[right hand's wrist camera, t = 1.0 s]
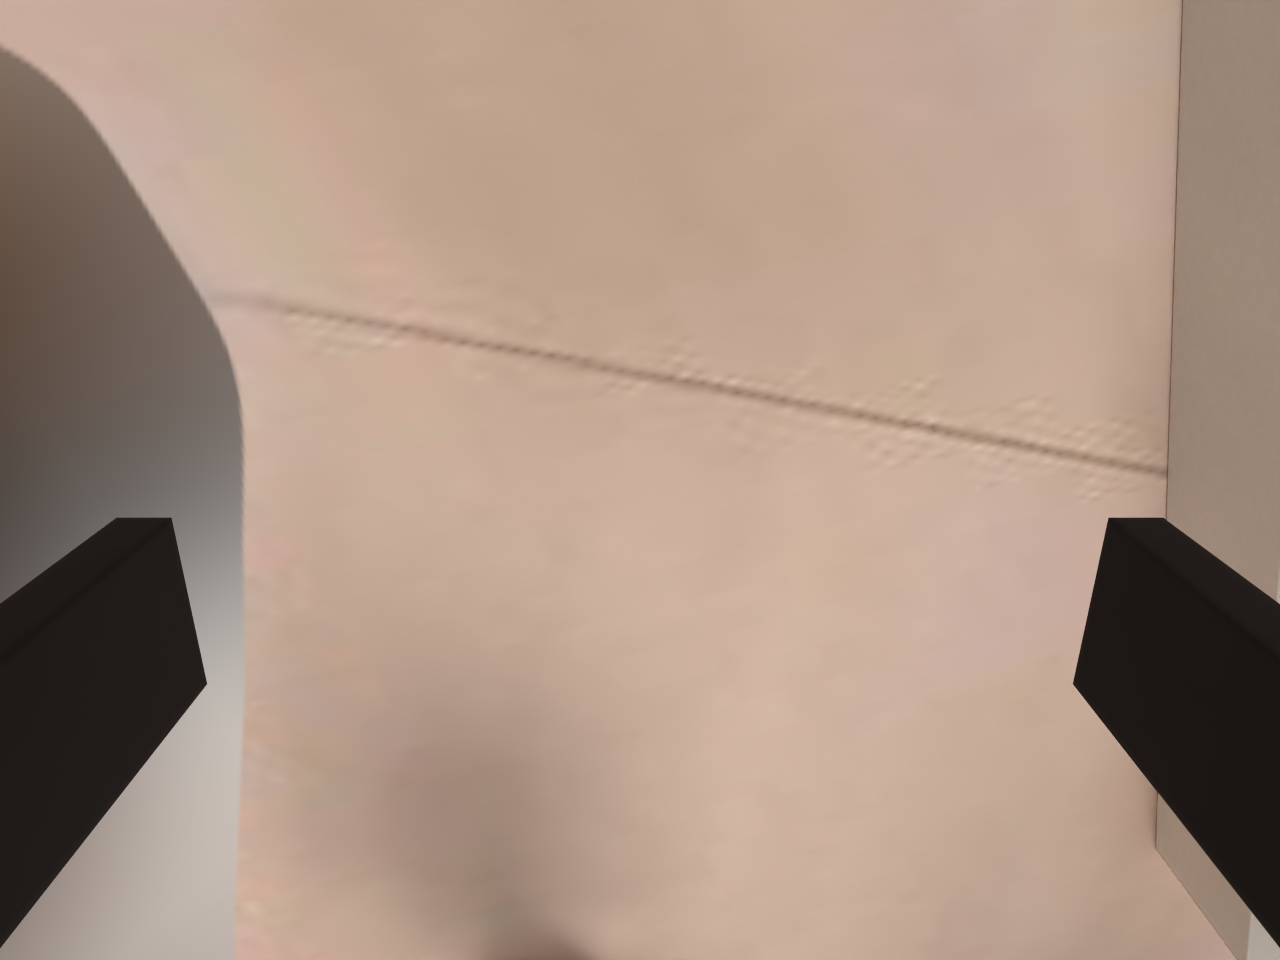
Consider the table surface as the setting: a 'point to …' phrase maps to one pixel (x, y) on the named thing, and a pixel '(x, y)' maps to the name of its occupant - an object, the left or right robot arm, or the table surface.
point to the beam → (1226, 350)
